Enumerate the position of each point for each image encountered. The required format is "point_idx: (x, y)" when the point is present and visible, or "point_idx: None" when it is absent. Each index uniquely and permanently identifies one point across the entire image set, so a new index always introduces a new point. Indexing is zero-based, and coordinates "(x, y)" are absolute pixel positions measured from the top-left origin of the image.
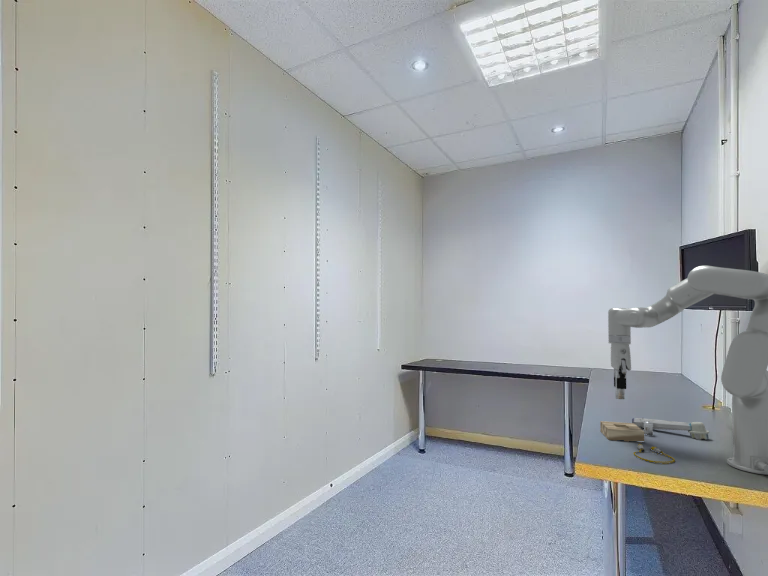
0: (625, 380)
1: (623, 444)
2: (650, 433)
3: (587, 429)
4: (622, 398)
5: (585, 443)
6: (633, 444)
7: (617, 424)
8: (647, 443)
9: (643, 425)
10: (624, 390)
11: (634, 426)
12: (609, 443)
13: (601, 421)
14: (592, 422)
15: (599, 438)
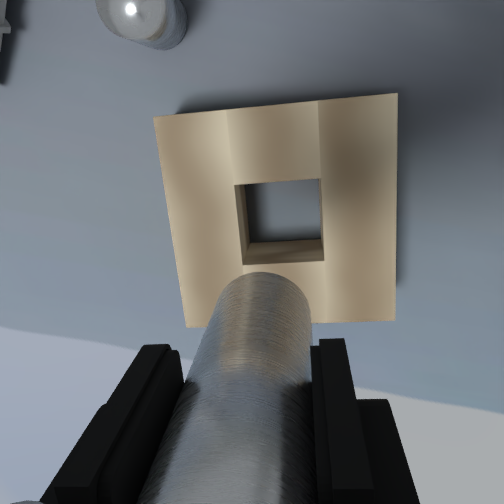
0: (362, 459)
1: (459, 228)
2: (181, 8)
3: (190, 356)
4: (307, 306)
5: (491, 407)
6: (442, 171)
7: (240, 239)
8: (392, 77)
9: (1, 17)
10: (273, 326)
11: (255, 132)
12: (458, 297)
13: (198, 323)
14: (6, 306)
15: (366, 328)
